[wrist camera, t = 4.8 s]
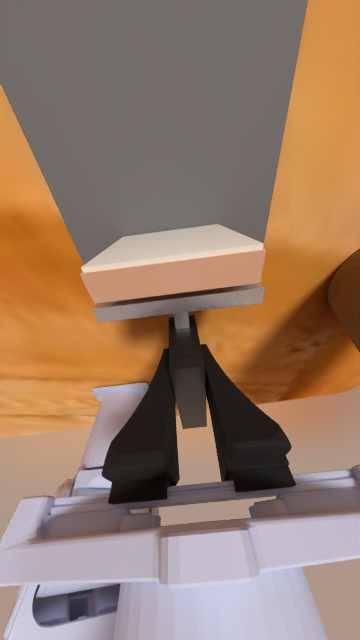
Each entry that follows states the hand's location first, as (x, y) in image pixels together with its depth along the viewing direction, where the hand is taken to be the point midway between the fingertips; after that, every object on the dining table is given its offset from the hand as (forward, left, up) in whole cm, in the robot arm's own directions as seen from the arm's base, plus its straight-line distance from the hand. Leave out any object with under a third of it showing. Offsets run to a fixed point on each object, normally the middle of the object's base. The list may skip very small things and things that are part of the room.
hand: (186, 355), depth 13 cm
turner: (0, 0, -2) cm, 2 cm away
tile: (+7, 0, -4) cm, 9 cm away
